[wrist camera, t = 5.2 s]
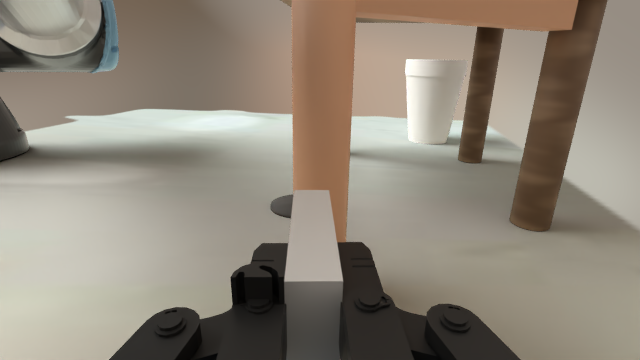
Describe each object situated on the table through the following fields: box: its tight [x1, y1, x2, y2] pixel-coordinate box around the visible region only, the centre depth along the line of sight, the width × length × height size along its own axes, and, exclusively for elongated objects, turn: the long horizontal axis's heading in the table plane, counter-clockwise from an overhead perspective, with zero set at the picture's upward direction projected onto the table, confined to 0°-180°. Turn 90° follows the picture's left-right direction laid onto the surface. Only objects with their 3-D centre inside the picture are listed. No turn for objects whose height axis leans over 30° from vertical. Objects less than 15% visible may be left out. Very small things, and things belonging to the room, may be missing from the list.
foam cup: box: [405, 59, 468, 144], centre depth 58 cm, size 10×9×13 cm
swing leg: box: [292, 0, 578, 242], centre depth 22 cm, size 20×3×16 cm, turn 117°
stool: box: [271, 0, 607, 231], centre depth 37 cm, size 24×24×20 cm
